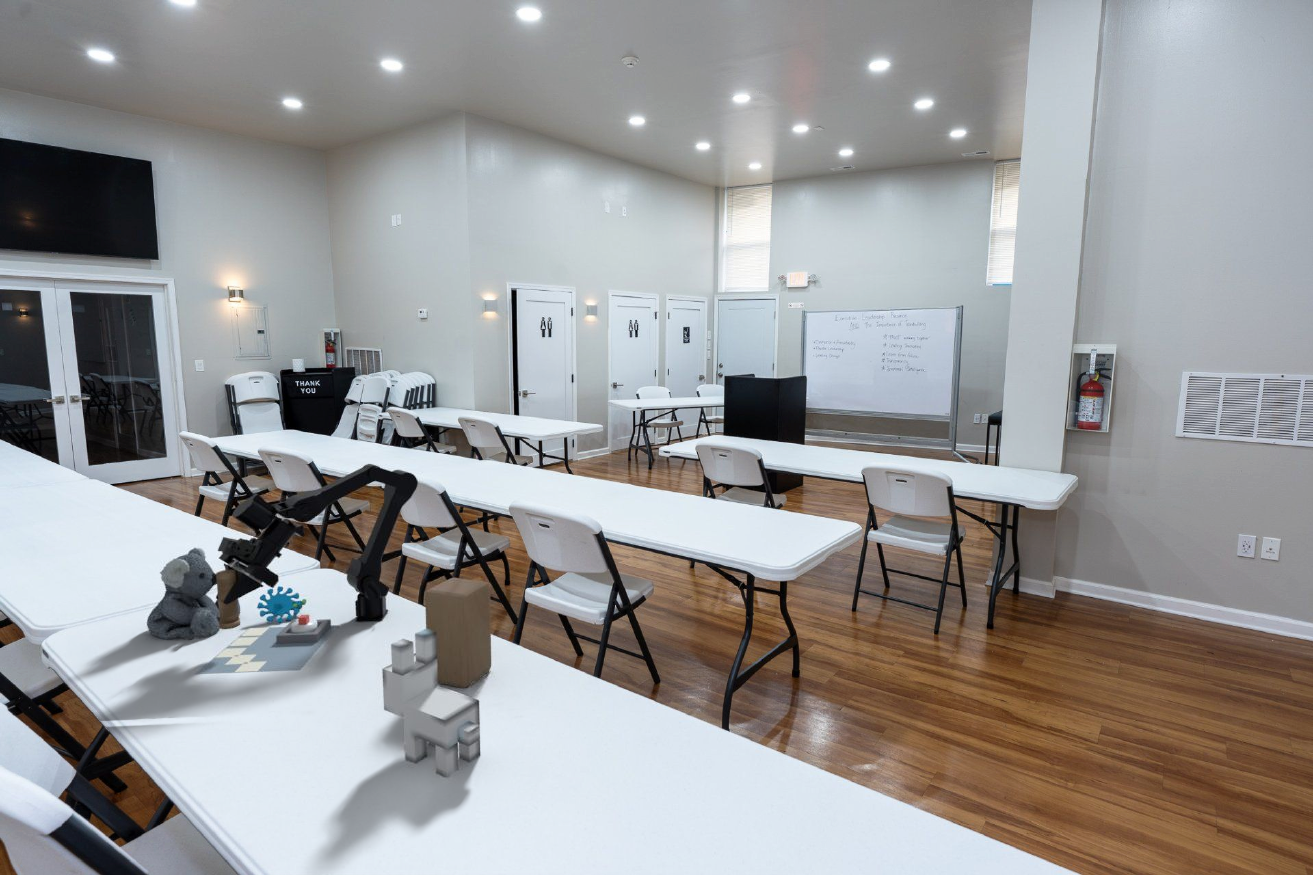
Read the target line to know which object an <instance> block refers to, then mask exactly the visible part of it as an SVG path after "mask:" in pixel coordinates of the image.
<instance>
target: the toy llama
mask: <svg viewBox="0 0 1313 875" xmlns="http://www.w3.org/2000/svg"><path fill="white" fill-rule="evenodd" d="M414 639H415V640H414V641H411V640H408V639H406V638H403V639H399V640H398V641H395V642H393V643H391V644H390V648H391V649H390V651H391V653H390V655H391V664H389V665H387V666H385V667H383V668H382V670H381V671H382V688H383V690H382V691H383V692H382V693H383V710H384V711H387V713H391V714H393V715H395V716H398V717H401V718H403V732H404V735H403V736H404V758H405V759H404V760H405V761H409V762H410V763H412V764H417V763H419V762H421V761H423V760H424V759H425V758H427V757H428V751H427V750H428V746H431V747H433V748H434V749H435V769H436V770H435V771H436V772H435V773H436V774H437V775H439V776H441V777H444V778H446V779H448V778H449V777H451V776H452V775H454V774H455V773H457V772H458V771H459V767H460V766H459V759H461V760H463V761H465V762H468V763H471V762H473V761H474V760H476V759H477V758H478V757H479V756H481V722H480V718H481V717H480V700H479V699H476V698H474V697H471V696H468V695H466V694H462V693H460V692H457V691H454V690H452V689H449V688H446V687H443V686H440V685H439V683H438V674H437V640H436V631H432V630H429V629H426V628H425V629H422V630H420V631H418V632H415V633H414ZM414 642H415V644H414ZM414 645H415V646H414ZM414 647H415V653H414ZM427 744H428V745H427Z"/></svg>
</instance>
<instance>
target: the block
mask: <svg viewBox="0 0 1313 875" xmlns="http://www.w3.org/2000/svg"><path fill="white" fill-rule="evenodd" d="M490 585H491V584H490V583H489V582H487V581H482V580H473V579H467V578H459V577H451V578H449V579H447V580H445V581H443V582H441V583H439V584H437V585H435V586H433V587H431V588H429V589H427V590H426V591H425V594H424V600H425V604H424V605H425V607H424V608H425V629H429V630H432V631H436V640H437V674H438V684H443V685H447V686H453V687H458V688H461V689H462V688H463V689H464V688H468V687H469V686H471V685H473V683H475V682H476V681H477V680H478V679H480V678H481V677H483V675H485V674H486V673H488V672H490V670H491V667H492V631H491V630H492V628H491V627H492V623H491V622H492V621H491V586H490Z"/></svg>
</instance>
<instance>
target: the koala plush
mask: <svg viewBox="0 0 1313 875" xmlns="http://www.w3.org/2000/svg"><path fill="white" fill-rule="evenodd" d="M159 574H160V579H161V581H162V582H163V584H164V588H165V591H164V592H165V593H164V596H163V597H162V599H161V600H160V601H159V602H158V604H157V605H156V606H155V607H154V608H153V609H152V610H151V611H150V613H149V615H148V617H147V619H146V627H147V629H148V630H149V632H150V633H151V635H152V636H154V637H157V638H160V639H165V640H168V639H169V640H171V639H173V638H174V639H176V638H177V639H178V638H181V639H184V640H185V639H186V640H194V639H195V638H197V639H198V638H207V637H209V636H214V635H216V634H217V633H218V632H220V630H221V629H220V628H219V621H220V616H219V604H218V599H216V601H214V600H213V599H212V598H211V597H210V596H208V595H207V594H208V593H209V592H210V591H211V590H212V589H213V587H214V586H217V578H216V573H215V572H214V570H213V568H212V566H211V565H210V564H209V562H208V561H207V560H206V552H205V550H204V549H203V548H202V547H193V548H192V549H190V550H189V551H188V553H185V554H183V555H180V556H178V557H176V558H173V559H172V560H170V561H168V563H166V564H165V565H164V566H163V569H162V570H161V571H160V572H159ZM237 600H238V614H239V617H240V615H241V604H240V600H239V598H238V599H237Z"/></svg>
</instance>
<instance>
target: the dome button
mask: <svg viewBox="0 0 1313 875" xmlns="http://www.w3.org/2000/svg"><path fill="white" fill-rule="evenodd" d="M297 620H298V621H296V622H294V623H292V624H291V633H304V632H314V631H315V630H316V629H317V620H318V619H314V618H310V614H301V615H299V617H297Z"/></svg>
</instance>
